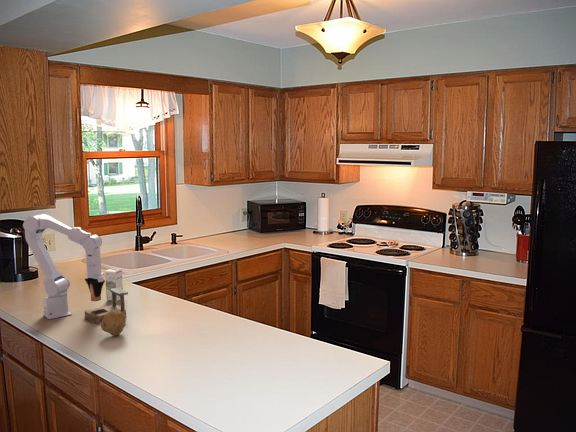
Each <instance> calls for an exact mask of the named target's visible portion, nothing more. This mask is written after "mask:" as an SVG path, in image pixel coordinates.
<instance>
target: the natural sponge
mask: <svg viewBox="0 0 576 432" xmlns="http://www.w3.org/2000/svg"><path fill="white" fill-rule="evenodd" d="M126 321H127V316H126V317H125V315H124V314H123V313H122V312H121V311H117V310H112V311H109V312H108V313H106V314H105V316H104V318H103V320H102V322H101V323H100V327H101V331H104V332H106V333H108V334H110V335H111V336H113V337H118V336H119V335H120V334H121V333H122V332H123V330H124V329H125V326H126Z"/></svg>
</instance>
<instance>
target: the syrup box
mask: <svg viewBox="0 0 576 432" xmlns="http://www.w3.org/2000/svg"><path fill="white" fill-rule="evenodd" d="M104 275H105V277H104V278H105V279H104V280H105V292H106V301H107V300H108V301H110V302H112V292H110V289H112V288H118V287H119V288H121V289H123V290H124V284H123V283H124V282H123V269H122V268H109V269H106V270H104ZM118 300H119V301H120V296H118V295H116V302H119V301H118Z"/></svg>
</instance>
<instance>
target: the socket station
mask: <svg viewBox="0 0 576 432" xmlns="http://www.w3.org/2000/svg"><path fill="white" fill-rule="evenodd" d="M110 292H112V301H111V302H112V305H106V306H100V307H96V308H92V309H87V310H84V318H85V319H86V320H88V321H89V322H90V323H92V324H93V325H98V324H101V322H102V320H103V318H104V316H105V314H106V313H108V312H109V311H112V310H117V311H121V312H122V313H123V314H124V315H125V317H126V318H127V309H126V308H125V296H126V295H129V292H128V291H127V290H125V289H124V288H123V289H121V288H119V287H118V288H112V289H110ZM116 295H118V296H120V300H119V301H120V303H119V304H120V306H119V305H118V304H117V301H116Z"/></svg>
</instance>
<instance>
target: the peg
mask: <svg viewBox="0 0 576 432" xmlns="http://www.w3.org/2000/svg"><path fill="white" fill-rule="evenodd" d="M89 293H90V301H91V302H98V301H101V300H102V297H101V296H99V297H95V295H94V291H93V287H92V285H91V284H90V290H89Z"/></svg>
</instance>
